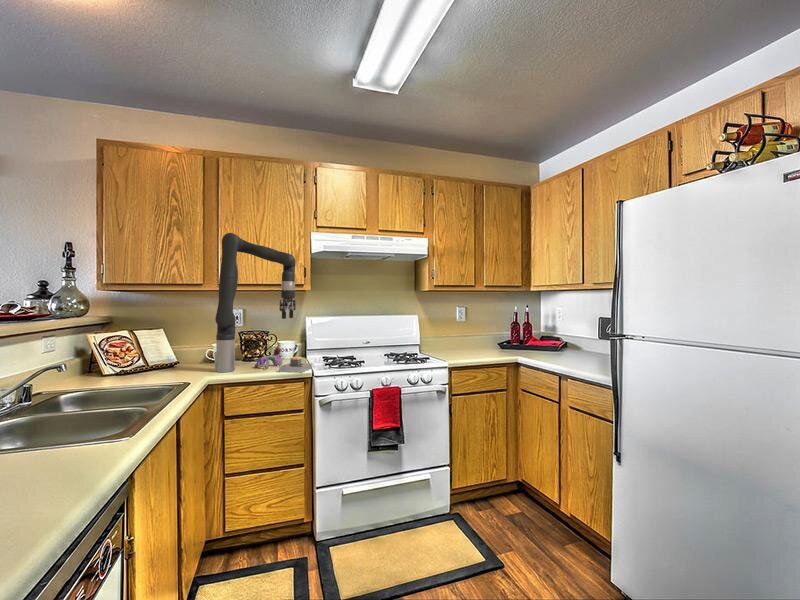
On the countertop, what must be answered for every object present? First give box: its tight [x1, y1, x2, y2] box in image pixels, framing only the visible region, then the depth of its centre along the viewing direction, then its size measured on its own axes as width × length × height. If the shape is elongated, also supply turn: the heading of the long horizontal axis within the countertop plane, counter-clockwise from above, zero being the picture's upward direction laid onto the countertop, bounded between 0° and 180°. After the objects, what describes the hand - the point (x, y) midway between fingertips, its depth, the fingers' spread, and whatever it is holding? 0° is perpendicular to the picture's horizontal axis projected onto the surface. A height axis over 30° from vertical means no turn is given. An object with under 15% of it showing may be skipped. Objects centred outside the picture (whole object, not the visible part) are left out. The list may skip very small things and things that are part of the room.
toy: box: [254, 347, 284, 370], centre depth 225 cm, size 10×15×15 cm
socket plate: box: [278, 362, 313, 374], centre depth 213 cm, size 13×13×3 cm
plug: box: [289, 356, 302, 366], centre depth 213 cm, size 4×4×7 cm
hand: (287, 318), depth 217 cm, fingers open, 8 cm apart
